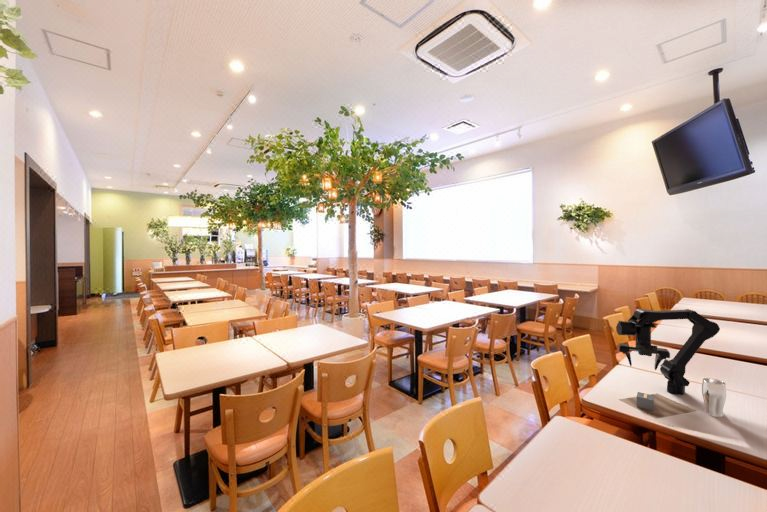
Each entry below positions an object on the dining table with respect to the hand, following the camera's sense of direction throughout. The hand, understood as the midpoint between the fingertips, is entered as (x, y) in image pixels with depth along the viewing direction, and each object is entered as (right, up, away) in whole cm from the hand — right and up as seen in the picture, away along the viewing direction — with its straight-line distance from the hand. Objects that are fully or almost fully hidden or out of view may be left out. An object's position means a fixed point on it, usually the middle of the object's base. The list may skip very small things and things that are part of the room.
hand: (642, 367), depth 152 cm
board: (-6, -13, -14) cm, 20 cm away
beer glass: (+11, -13, -22) cm, 28 cm away
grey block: (-12, -11, -15) cm, 22 cm away
